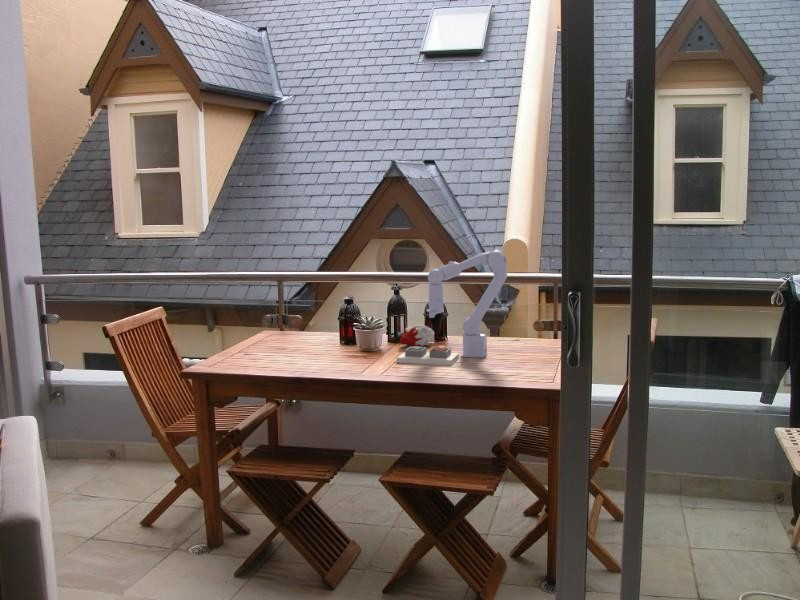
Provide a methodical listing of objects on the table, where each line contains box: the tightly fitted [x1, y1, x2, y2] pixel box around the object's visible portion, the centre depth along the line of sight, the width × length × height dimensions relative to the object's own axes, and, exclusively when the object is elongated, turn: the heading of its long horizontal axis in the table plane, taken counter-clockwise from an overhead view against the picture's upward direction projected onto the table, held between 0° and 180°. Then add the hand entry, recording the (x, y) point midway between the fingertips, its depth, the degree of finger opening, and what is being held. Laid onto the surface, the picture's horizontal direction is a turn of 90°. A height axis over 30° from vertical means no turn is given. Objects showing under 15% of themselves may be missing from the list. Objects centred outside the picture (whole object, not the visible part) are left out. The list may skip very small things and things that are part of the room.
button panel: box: [396, 346, 460, 366], centre depth 315 cm, size 22×12×4 cm, turn 72°
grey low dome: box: [409, 345, 423, 351], centre depth 316 cm, size 5×5×2 cm
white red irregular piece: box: [399, 324, 434, 347], centre depth 341 cm, size 9×11×15 cm
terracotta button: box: [433, 345, 447, 352], centre depth 313 cm, size 5×5×2 cm
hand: (436, 332), depth 323 cm, fingers closed
